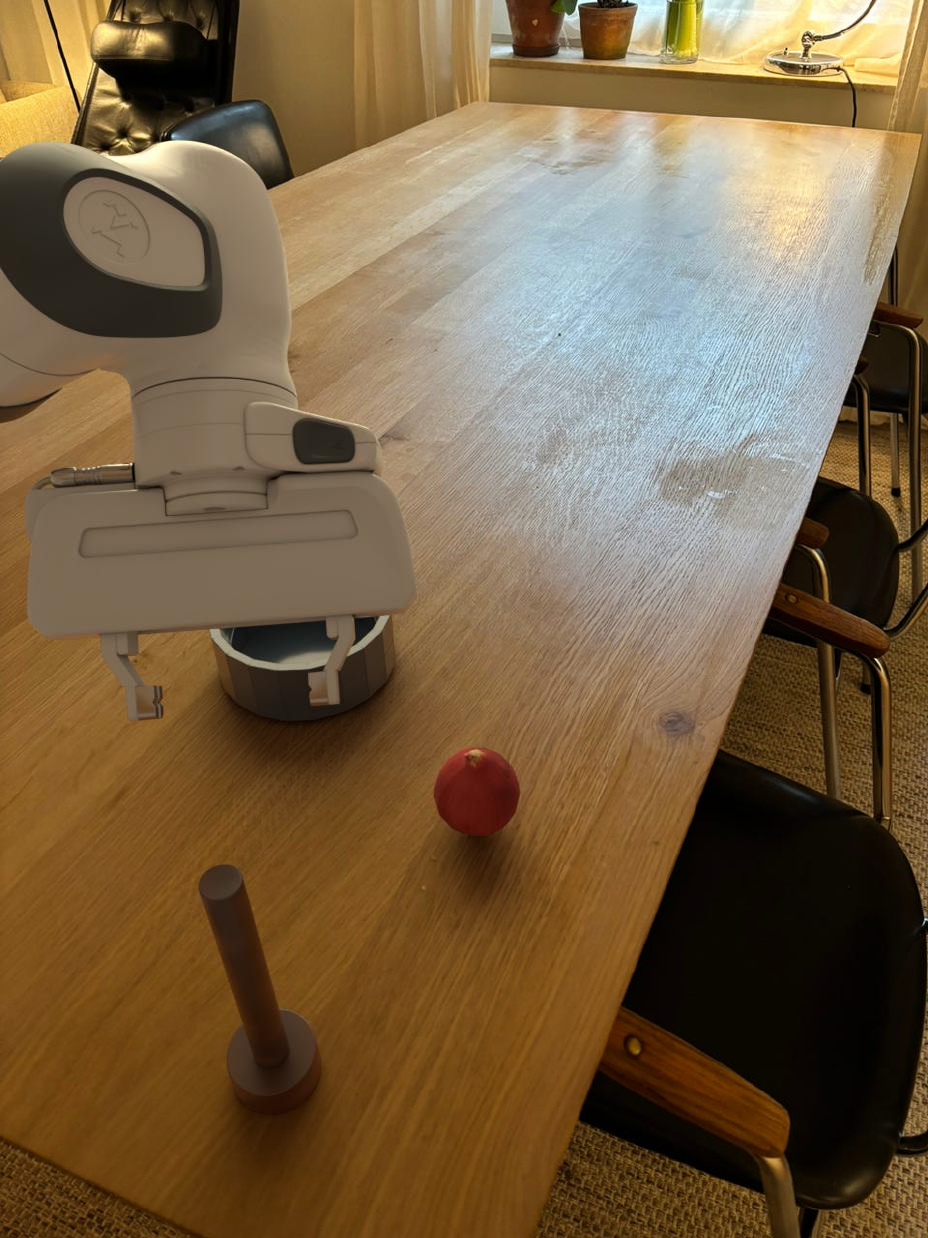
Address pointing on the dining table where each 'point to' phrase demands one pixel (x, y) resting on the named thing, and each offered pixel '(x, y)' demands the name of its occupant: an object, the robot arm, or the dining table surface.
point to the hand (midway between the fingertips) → (236, 712)
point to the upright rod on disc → (257, 1006)
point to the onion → (476, 792)
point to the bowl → (301, 665)
